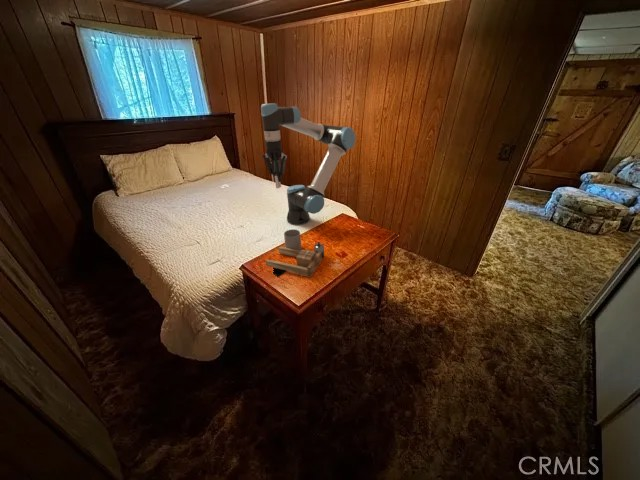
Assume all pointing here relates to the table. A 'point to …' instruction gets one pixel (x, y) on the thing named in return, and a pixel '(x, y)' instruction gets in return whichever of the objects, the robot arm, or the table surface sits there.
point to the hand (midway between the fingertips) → (278, 187)
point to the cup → (292, 239)
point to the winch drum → (319, 248)
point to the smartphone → (278, 272)
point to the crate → (305, 258)
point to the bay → (294, 268)
